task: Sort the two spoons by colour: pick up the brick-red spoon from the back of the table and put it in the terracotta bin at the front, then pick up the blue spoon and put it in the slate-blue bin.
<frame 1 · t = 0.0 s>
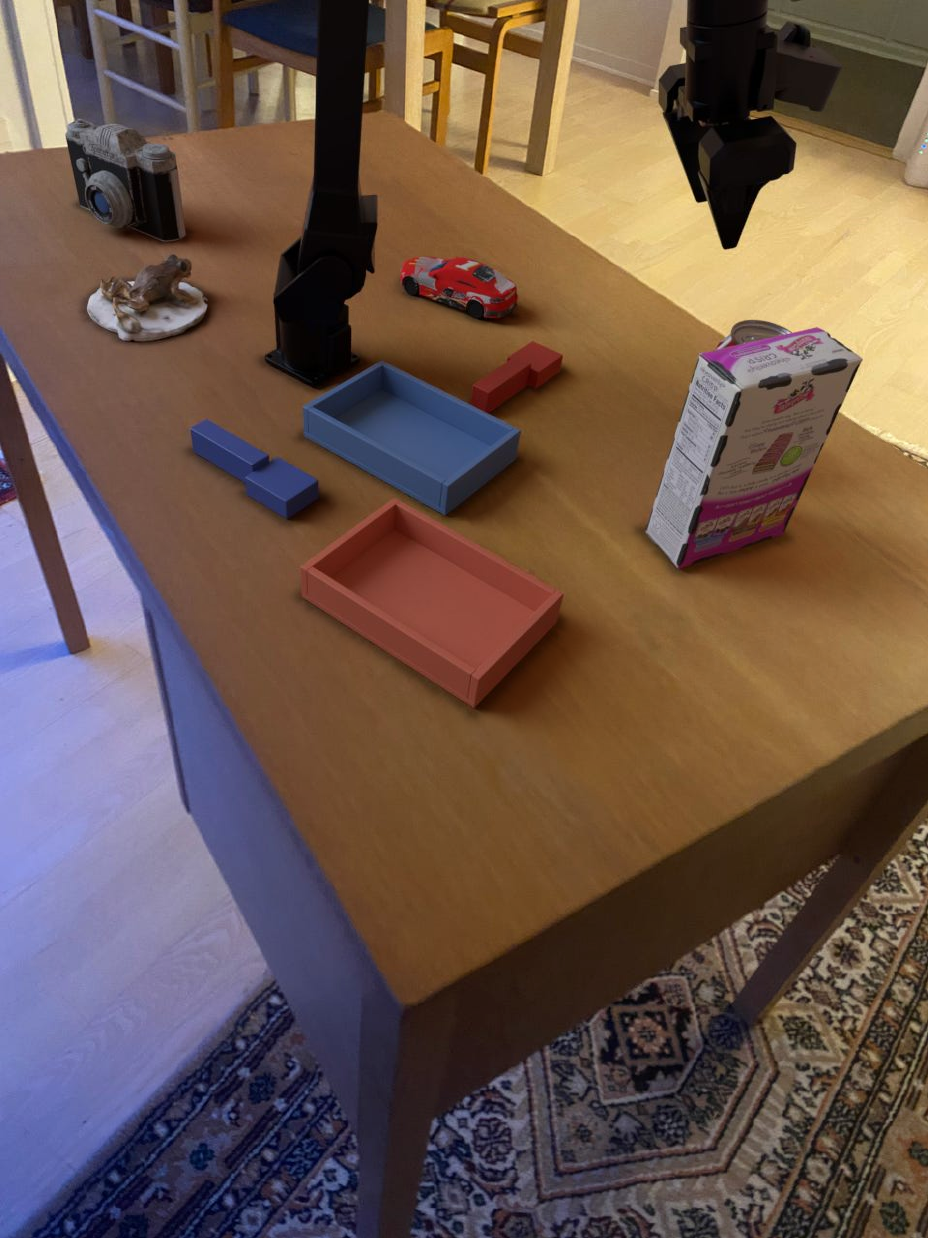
hand: (715, 223, 77), 15 cm above the table, tool pointing down, fingers open, 9 cm apart
red spoon: (511, 387, 85), on the table
soda can: (719, 460, 80), on the table
camera: (123, 224, 100), on the table
blue spoon: (249, 476, 72), on the table
candy bar box: (711, 536, 73), on the table
terracotta bin: (429, 609, 64), on the table
frog figurine: (149, 308, 88), on the table
blue bin: (410, 447, 77), on the table
race car: (455, 299, 96), on the table
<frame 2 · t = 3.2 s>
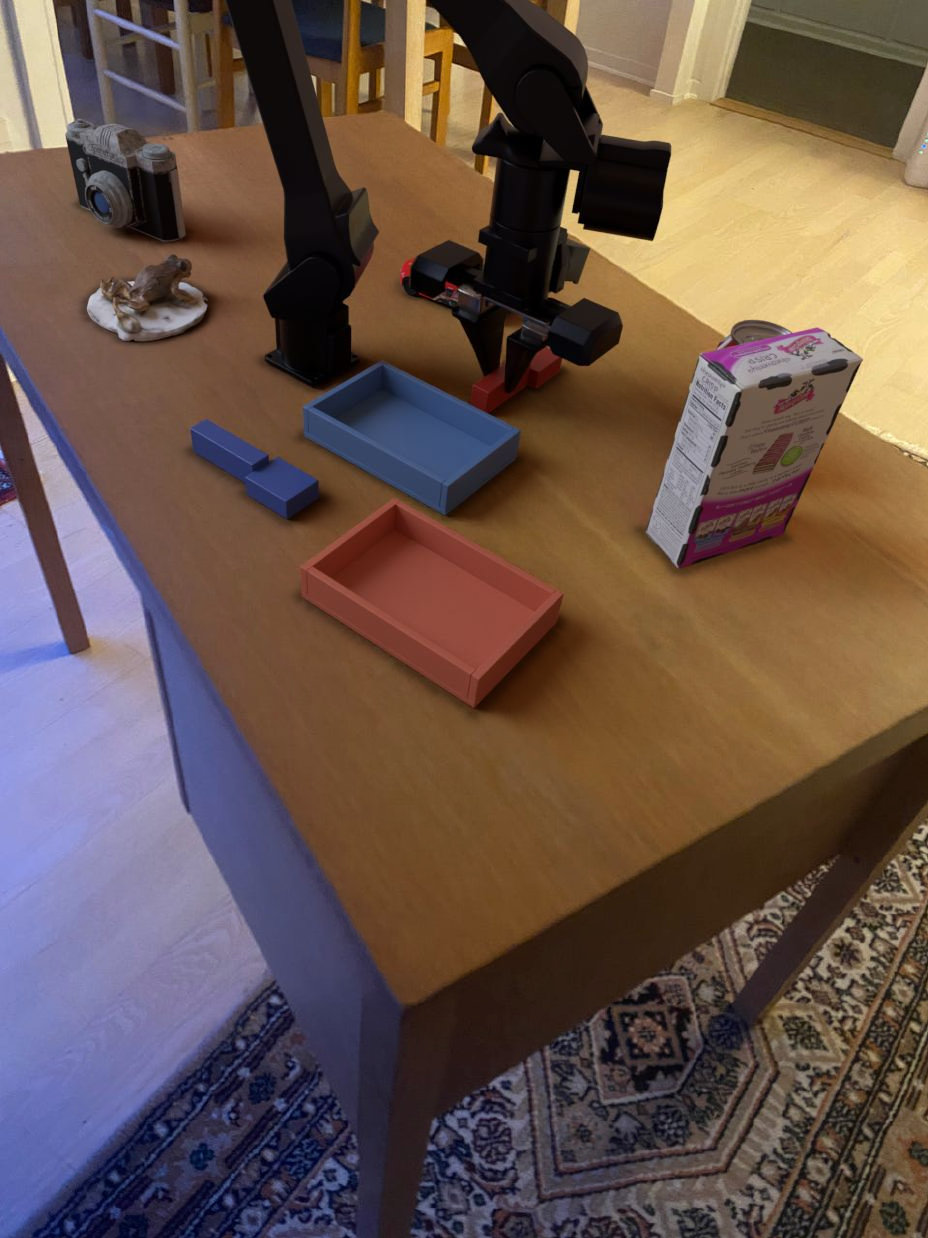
hand: (500, 386, 83), 1 cm above the table, tool pointing down, fingers closed on red spoon, 2 cm apart
red spoon: (511, 387, 85), on the table, touching gripper
everything else where it was.
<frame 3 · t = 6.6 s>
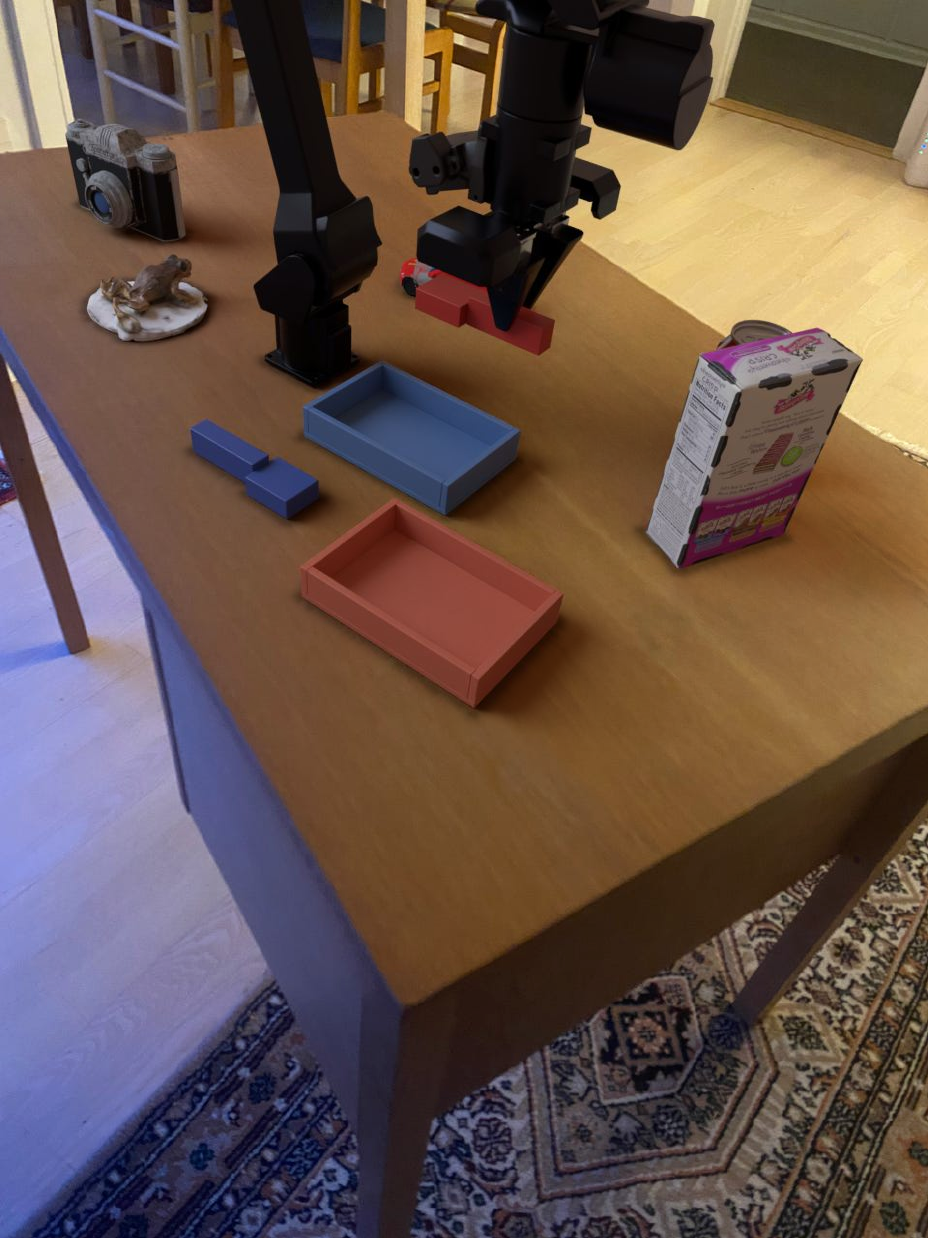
hand: (509, 324, 71), 11 cm above the table, tool pointing down, fingers closed on red spoon
red spoon: (486, 326, 72), point 10 cm above the table, touching gripper
everything else where it was.
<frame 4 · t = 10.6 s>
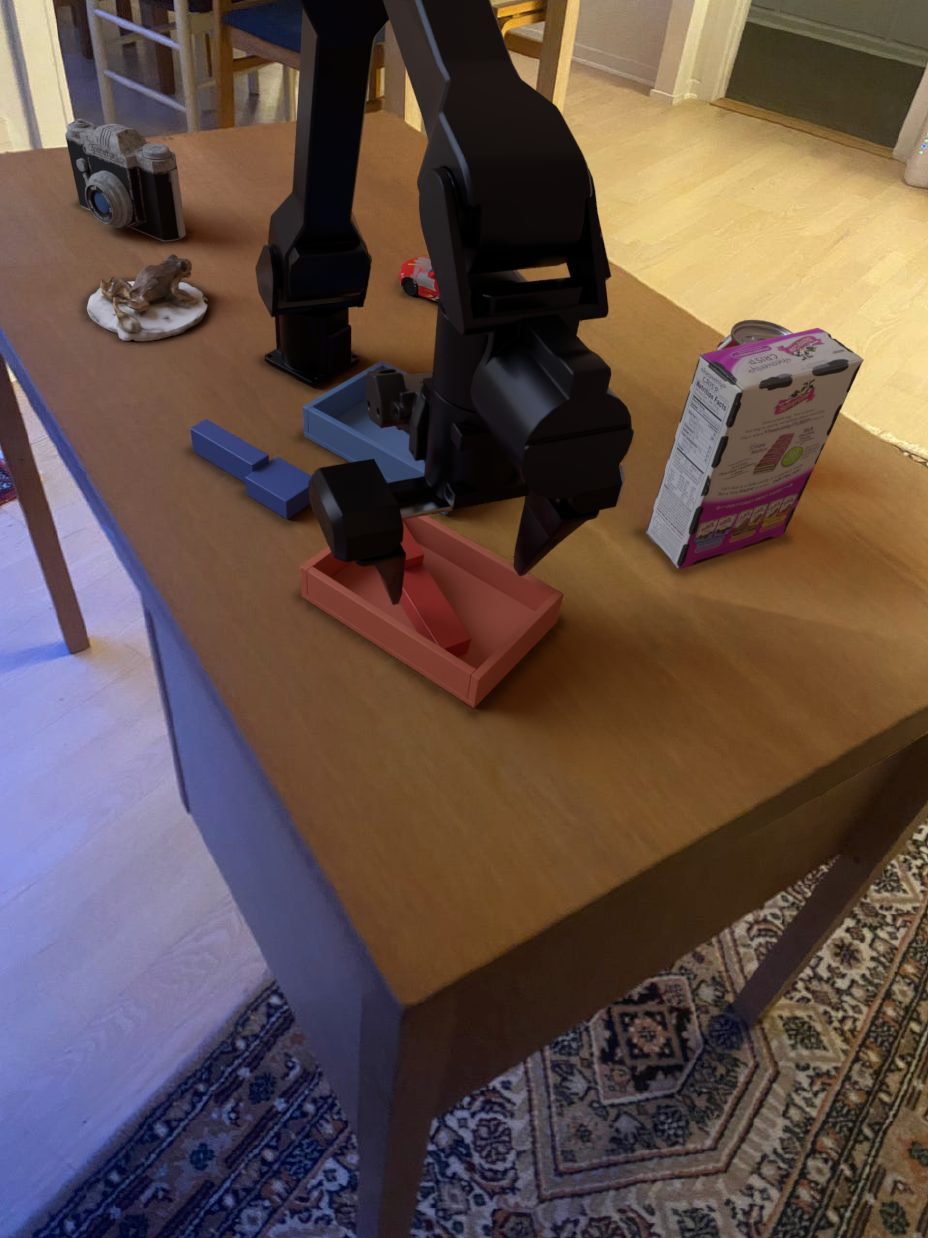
hand: (457, 585, 61), 4 cm above the table, tool pointing down, fingers open, 9 cm apart
red spoon: (431, 586, 63), point 2 cm above the table, tilted 90°, touching terracotta bin
everything else where it was.
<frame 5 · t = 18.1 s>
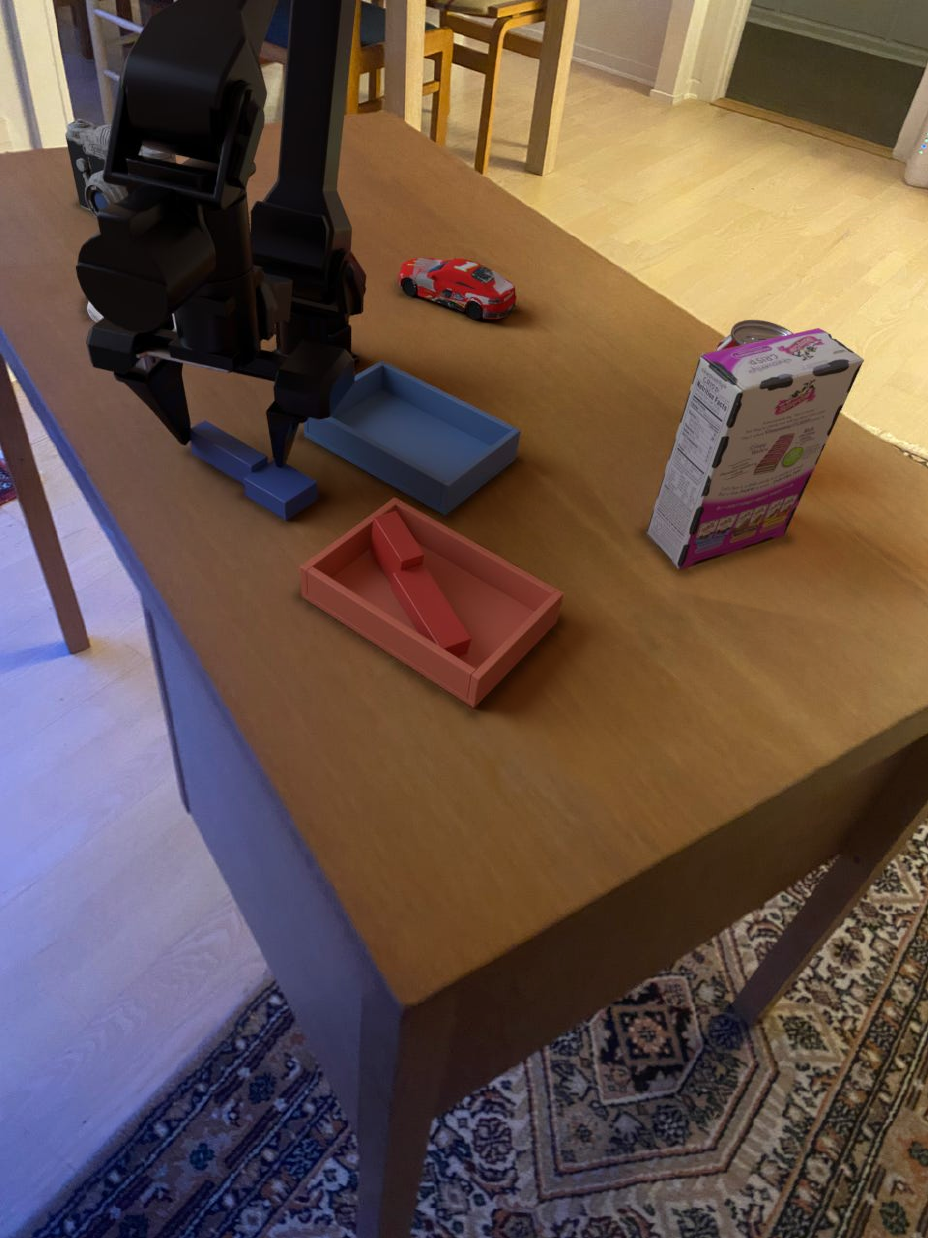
hand: (234, 453, 72), 1 cm above the table, tool pointing down, fingers closed on blue spoon, 8 cm apart
blue spoon: (248, 477, 72), on the table, touching gripper
everything else where it was.
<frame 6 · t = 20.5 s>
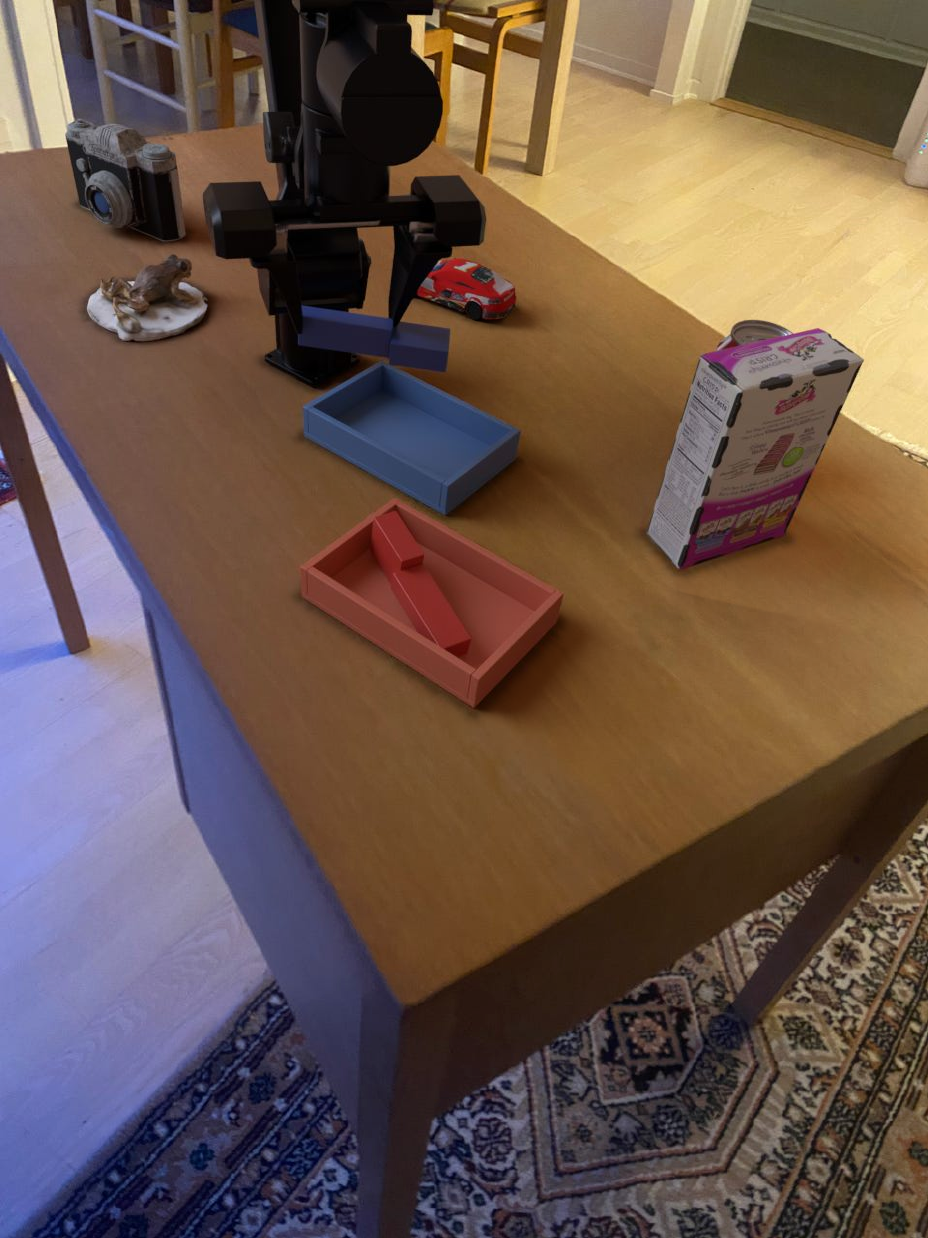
hand: (346, 327, 68), 11 cm above the table, tool pointing down, fingers closed on blue spoon, 7 cm apart
blue spoon: (371, 349, 69), point 9 cm above the table, touching gripper
everything else where it was.
when the fingers open (4 cm above the table, at t = 23.2 s): blue spoon stays where it is, resting on blue bin.
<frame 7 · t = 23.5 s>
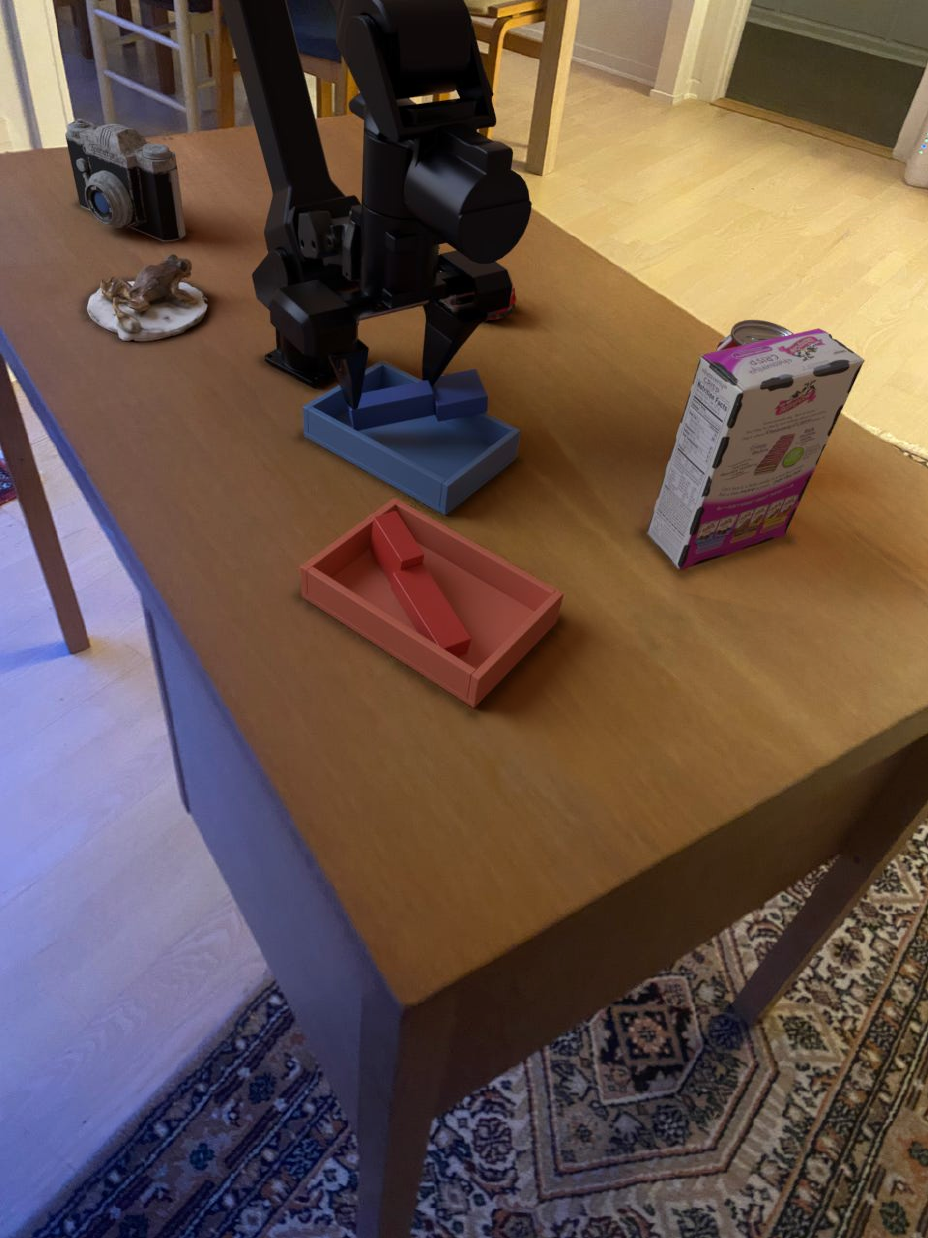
hand: (390, 395, 74), 4 cm above the table, tool pointing down, fingers open, 7 cm apart
blue spoon: (415, 411, 76), point 2 cm above the table, tilted 11°, touching blue bin, gripper
everything else where it was.
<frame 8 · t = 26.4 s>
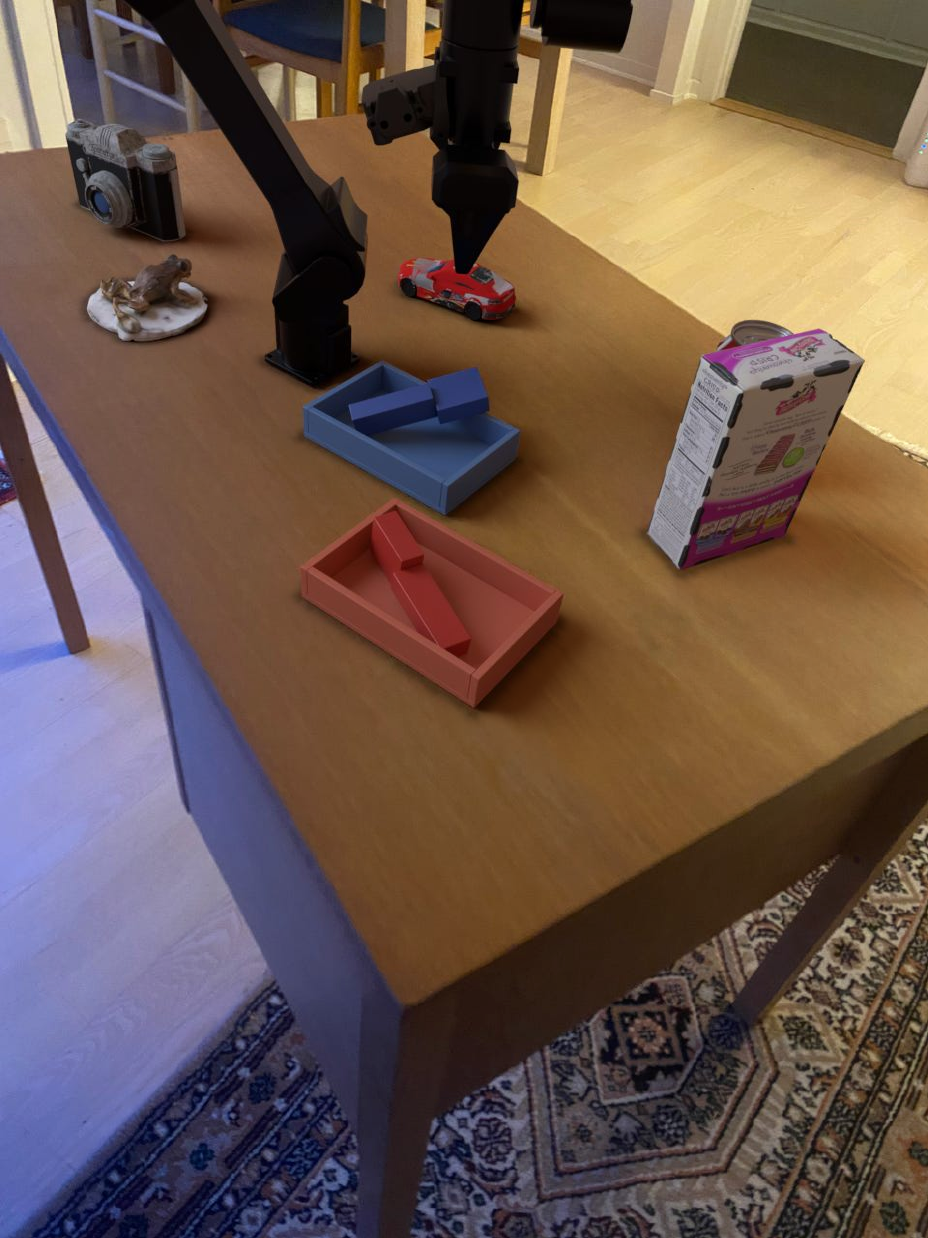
hand: (459, 247, 77), 12 cm above the table, tool pointing down, fingers open, 9 cm apart
blue spoon: (418, 413, 77), point 2 cm above the table, tilted 19°, touching blue bin
everything else where it was.
at the end: red spoon inside the target area in the terracotta bin (0.3 cm from its centre), point 2.1 cm above the terracotta bin's base; blue spoon inside the target area in the blue bin (2.1 cm from its centre), point 2.1 cm above the blue bin's base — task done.
